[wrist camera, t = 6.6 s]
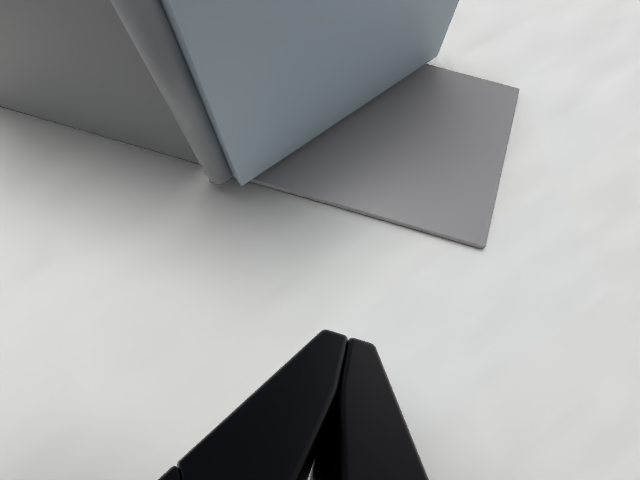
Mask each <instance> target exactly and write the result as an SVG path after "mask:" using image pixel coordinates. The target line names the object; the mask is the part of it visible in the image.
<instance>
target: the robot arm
mask: <svg viewBox="0 0 640 480" xmlns="http://www.w3.org/2000/svg"><path fill="white" fill-rule="evenodd" d="M312 465H313V466H312ZM311 468H312V471H311ZM310 471H311V475H310V480H429V479H428V477H427V474H426V472H425V469H424V467H423V464H422V462H421V459H420V457H419V454H418V452H417V449H416V447H415V445H414V442H413V440H412V437H411V435H410V432H409V430H408V427H407V425H406V422H405V420H404V417H403V415H402V412H401V410H400V407H399V405H398V402H397V400H396V397H395V395H394V392H393V390H392V387H391V385H390V382H389V380H388V377H387V375H386V372H385V370H384V367H383V365H382V362H381V360H380V357H379V355H378V352H377V350H376V347H375V346H374V345H373V344H371V343H369V342H365V341H362V340H359V339H355V338H350V339H349V340H348V339H347V337H346V336H345V335H342V334H339V333H336V332H333V331H329V330H322V331H321V332H320V333H319V334H318V335H317V336H315V337H314V338H313V339H312V340H311V341H310V342H309V343H308V344H307V345H306V346H304V347H303V348H302V349H301V350H300V351H299V352H298V353H297V354H296V355H295V356H293V357H292V358H291V359H290V360H289V361H288V362H287V363H286V364H285V365H284V366H283V367H281V368H280V369H279V370H278V371H277V372H276V373H275V374H274V375H273V376H272V377H270V378H269V379H268V380H267V381H266V382H265V383H264V384H263V385H262V386H261V387H259V388H258V389H257V390H256V391H255V392H254V393H253V394H252V395H251V396H250V397H249V398H247V399H246V400H245V401H244V402H243V403H242V404H241V405H240V406H239V407H238V408H236V409H235V410H234V411H233V412H232V413H231V414H230V415H229V416H228V417H227V418H225V419H224V420H223V421H222V422H221V423H220V424H219V425H218V426H217V427H216V428H215V429H213V430H212V431H211V432H210V433H209V434H208V435H207V436H206V437H205V438H204V439H202V440H201V441H200V442H199V443H198V444H197V445H196V446H195V447H194V448H193V449H191V450H190V451H189V452H188V453H187V454H186V455H185V456H184V457H183V458H182V459H181V460H179V461H178V463H177V467H176V466H173V467H171V468H170V469H169V470H168V471H167V472H166V473H165V474H164V475H163V476H161V477H160V478H159V479H158V480H308V477H309V474H310Z"/></svg>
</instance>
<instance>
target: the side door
mask: <svg viewBox="0 0 640 480" xmlns="http://www.w3.org/2000/svg"><path fill="white" fill-rule="evenodd" d="M110 1H111V3H112V4H113V6H114V8H115V10H116V12H117V14H118V15H119V17H120V19H121V21H122V23H123V24H124V26H125V28H126V30H127V32H128V34H129V35H130V37H131V39H132V41H133V43H134V44H135V46H136V48H137V50H138V52H139V54H140V55H141V57H142V59H143V61H144V63H145V65H146V66H147V68H148V70H149V72H150V74H151V75H152V77H153V79H154V81H155V83H156V85H157V86H158V88H159V90H160V92H161V94H162V95H163V97H164V99H165V101H166V103H167V105H168V106H169V108H170V110H171V112H172V114H173V116H174V117H175V119H176V121H177V123H178V125H179V126H180V128H181V130H182V132H183V134H184V136H185V137H186V139H187V141H188V143H189V145H190V146H191V148H192V150H193V152H194V154H195V156H196V157H197V159H198V161H199V163H200V165H201V167H202V168H203V170H204V172H205V174H206V176H207V177H208V179H209V180H210V181H211V182H212V183H214V184H223V183H226V182H227V181H228V180H229V179H230V178H231V176H232V174H233V175H234V177H235V178H236V179H237V181H238V182H239V183H240V185H241V186H243V185H244V184H246V183H247V182H249V181H250V180H252V179H253V178H255V177H256V176H258V175H259V174H261V173H262V172H264V171H265V170H267V169H268V168H270V167H271V166H273V165H274V164H276V163H277V162H279V161H280V160H282V159H283V158H285V157H286V156H288V155H289V154H291V153H292V152H294V151H295V150H297V149H298V148H300V147H301V146H303V145H304V144H306V143H307V142H309V141H310V140H312V139H313V138H315V137H316V136H318V135H319V134H321V133H322V132H324V131H325V130H327V129H328V128H330V127H331V126H333V125H334V124H336V123H337V122H339V121H340V120H342V119H343V118H345V117H346V116H348V115H349V114H351V113H352V112H354V111H355V110H357V109H358V108H360V107H361V106H363V105H364V104H366V103H367V102H369V101H370V100H372V99H373V98H375V97H376V96H378V95H379V94H381V93H382V92H384V91H385V90H387V89H388V88H390V87H391V86H393V85H394V84H396V83H397V82H399V81H400V80H402V79H403V78H405V77H406V76H408V75H409V74H411V73H412V72H414V71H415V70H417V69H418V68H420V67H421V66H423V65H424V64H426V63H427V62H429V61H430V60H432V59H433V58H435V57H436V56H437V55H438V52H439V50H440V47H441V45H442V42H443V40H444V37H445V35H446V32H447V29H448V27H449V24H450V22H451V19H452V17H453V14H454V12H455V9H456V6H457V4H458V1H459V0H110Z"/></svg>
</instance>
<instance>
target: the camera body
mask: <svg viewBox="0 0 640 480" xmlns="http://www.w3.org/2000/svg"><path fill="white" fill-rule="evenodd" d="M518 94H519V89H518V88H514V87H511V86H507V85H503V84H499V83H496V82H492V81H488V80H484V79H481V78H477V77H473V76H469V75H466V74H462V73H458V72H454V71H450V70H447V69H443V68H439V67H435V66H432V65H428V64H424V65H423V66H421V67H420V68H418V69H417V70H415V71H414V72H412V73H411V74H409V75H408V76H406V77H405V78H403V79H402V80H400V81H399V82H397V83H396V84H394V85H393V86H391V87H390V88H388V89H387V90H385V91H384V92H382V93H381V94H379V95H378V96H376V97H375V98H373V99H372V100H370V101H369V102H367V103H366V104H364V105H363V106H361V107H360V108H358V109H357V110H355V111H354V112H352V113H351V114H349V115H348V116H346V117H345V118H343V119H342V120H340V121H339V122H337V123H336V124H334V125H333V126H331V127H330V128H328V129H327V130H325V131H324V132H322V133H321V134H319V135H318V136H316V137H315V138H313V139H312V140H310V141H309V142H307V143H306V144H304V145H303V146H301V147H300V148H298V149H297V150H295V151H294V152H292V153H291V154H289V155H288V156H286V157H285V158H283V159H282V160H280V161H279V162H277V163H276V164H274V165H273V166H271V167H270V168H268V169H267V170H265V171H264V172H262V173H261V174H259V175H258V176H256V177H255V178H253V179H252V180H250V182H253V183H257V184H260V185H264V186H267V187H270V188H274V189H277V190H281V191H284V192H288V193H291V194H295V195H298V196H302V197H305V198H308V199H312V200H315V201H319V202H322V203H326V204H329V205H333V206H336V207H339V208H343V209H346V210H350V211H353V212H357V213H360V214H364V215H367V216H371V217H374V218H377V219H381V220H384V221H388V222H391V223H395V224H398V225H402V226H405V227H409V228H412V229H415V230H419V231H422V232H426V233H429V234H433V235H436V236H440V237H443V238H447V239H450V240H453V241H457V242H460V243H464V244H467V245H471V246H474V247H478V248H481V249H482V248H484V247H485V246H486V241H487V236H488V232H489V227H490V223H491V218H492V213H493V209H494V204H495V200H496V195H497V190H498V186H499V181H500V176H501V172H502V167H503V163H504V158H505V153H506V149H507V144H508V140H509V135H510V130H511V126H512V121H513V117H514V112H515V107H516V103H517V98H518ZM0 106H1V107H4V108H8V109H11V110H15V111H18V112H22V113H25V114H28V115H32V116H35V117H39V118H42V119H46V120H49V121H53V122H56V123H60V124H63V125H67V126H70V127H73V128H77V129H80V130H84V131H87V132H91V133H94V134H98V135H101V136H105V137H108V138H111V139H115V140H118V141H122V142H125V143H129V144H132V145H136V146H139V147H143V148H146V149H150V150H153V151H156V152H160V153H163V154H167V155H170V156H174V157H177V158H181V159H184V160H188V161H191V162H194V163H198V164H200V163H199V161H198V159H197V157H196V156H195V154H194V152H193V150H192V148H191V146H190V145H189V143H188V141H187V139H186V137H185V136H184V134H183V132H182V130H181V128H180V126H179V125H178V123H177V121H176V119H175V117H174V116H173V114H172V112H171V110H170V108H169V106H168V105H167V103H166V101H165V99H164V97H163V95H162V94H161V92H160V90H159V88H158V86H157V85H156V83H155V81H154V79H153V77H152V75H151V74H150V72H149V70H148V68H147V66H146V65H145V63H144V61H143V59H142V57H141V55H140V54H139V52H138V50H137V48H136V46H135V44H134V43H133V41H132V39H131V37H130V35H129V34H128V32H127V30H126V28H125V26H124V24H123V23H122V21H121V19H120V17H119V15H118V14H117V12H116V10H115V8H114V6H113V4H112V3H111V1H110V0H0ZM232 177H234V175H233V174H232Z"/></svg>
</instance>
